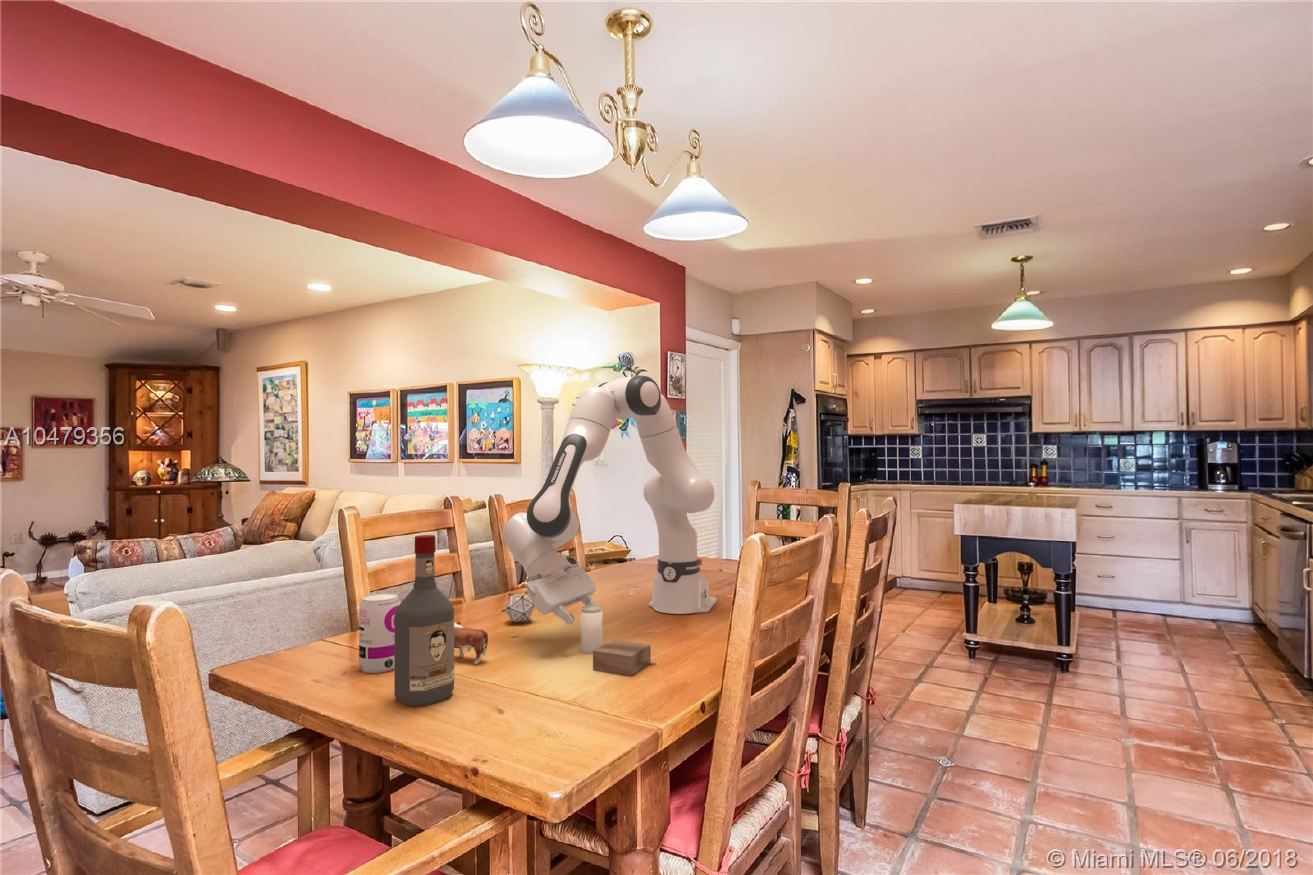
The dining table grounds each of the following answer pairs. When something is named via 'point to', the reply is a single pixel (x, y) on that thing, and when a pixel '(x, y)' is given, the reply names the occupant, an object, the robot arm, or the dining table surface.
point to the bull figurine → (470, 640)
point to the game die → (519, 607)
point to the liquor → (424, 635)
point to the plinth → (622, 657)
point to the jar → (591, 628)
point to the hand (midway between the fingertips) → (583, 617)
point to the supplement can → (377, 632)
